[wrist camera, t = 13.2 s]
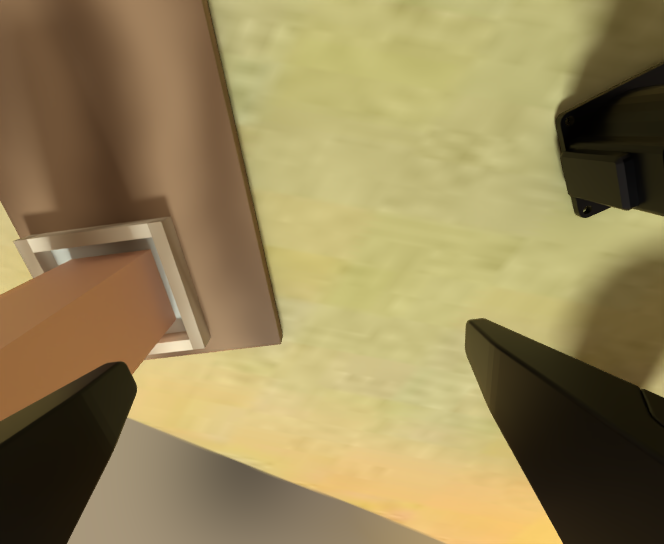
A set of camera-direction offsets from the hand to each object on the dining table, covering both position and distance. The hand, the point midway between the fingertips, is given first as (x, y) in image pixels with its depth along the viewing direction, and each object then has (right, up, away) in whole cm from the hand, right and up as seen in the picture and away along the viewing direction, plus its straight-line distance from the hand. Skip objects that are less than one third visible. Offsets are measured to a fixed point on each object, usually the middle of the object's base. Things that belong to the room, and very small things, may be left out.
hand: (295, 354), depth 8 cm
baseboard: (-11, +6, +11) cm, 17 cm away
